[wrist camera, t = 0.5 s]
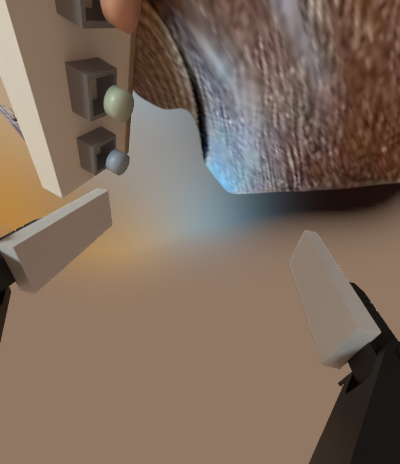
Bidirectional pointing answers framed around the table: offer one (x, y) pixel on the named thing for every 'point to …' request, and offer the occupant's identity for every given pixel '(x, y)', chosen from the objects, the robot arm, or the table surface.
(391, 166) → the table surface
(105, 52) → the button panel
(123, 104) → the sage button
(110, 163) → the slate button
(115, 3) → the terracotta button
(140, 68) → the table surface
